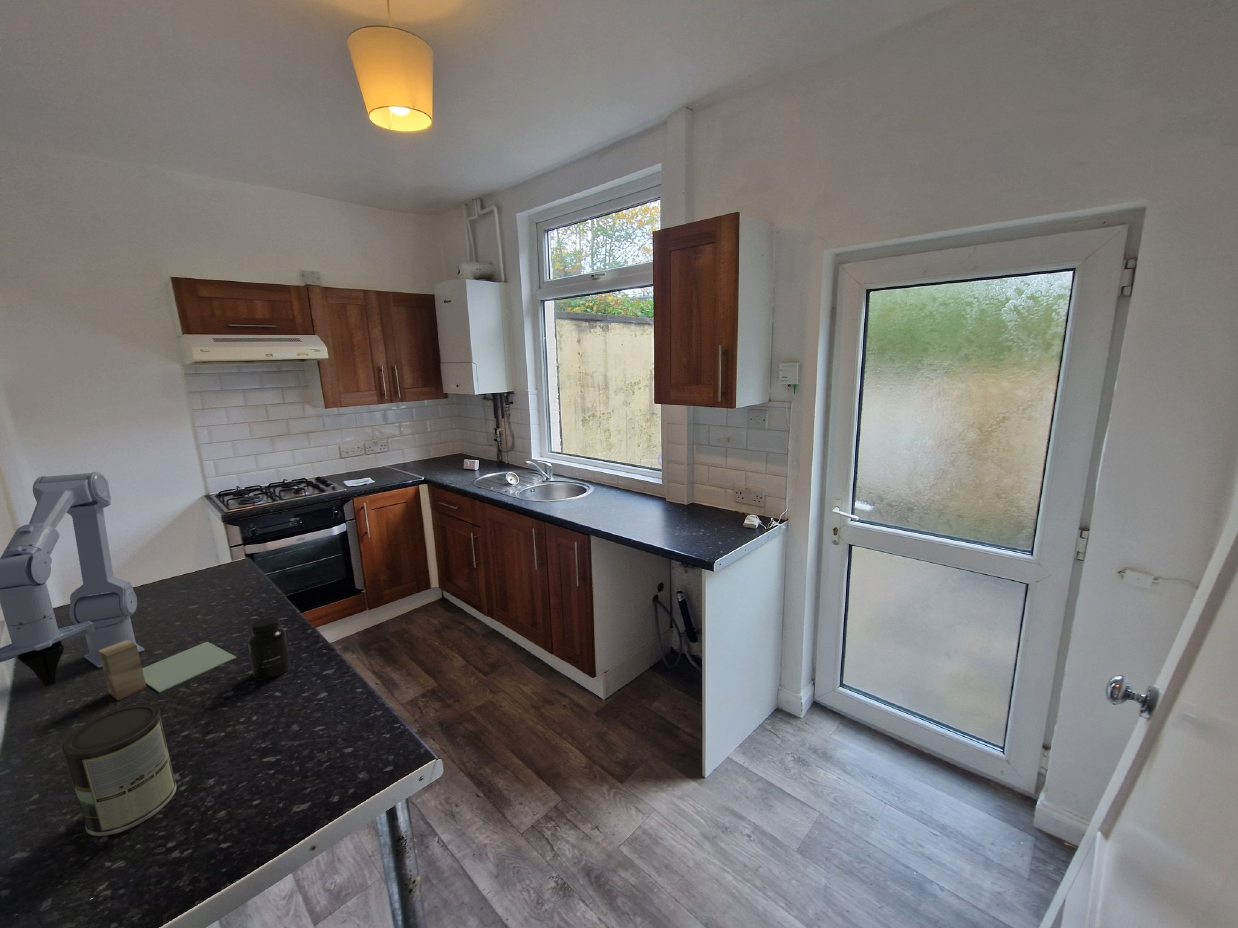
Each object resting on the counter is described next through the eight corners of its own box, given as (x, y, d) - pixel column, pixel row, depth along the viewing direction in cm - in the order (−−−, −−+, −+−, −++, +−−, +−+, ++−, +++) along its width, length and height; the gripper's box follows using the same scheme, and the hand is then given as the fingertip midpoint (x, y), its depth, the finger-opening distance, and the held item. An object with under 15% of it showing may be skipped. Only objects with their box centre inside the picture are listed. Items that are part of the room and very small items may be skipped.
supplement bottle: (272, 682, 106) (263, 631, 104) (245, 678, 107) (236, 628, 105) (298, 663, 113) (290, 615, 110) (273, 660, 114) (264, 612, 112)
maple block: (109, 693, 103) (98, 650, 101) (137, 681, 107) (127, 639, 105) (117, 700, 101) (107, 656, 99) (146, 687, 105) (136, 645, 103)
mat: (132, 673, 110) (131, 672, 110) (207, 642, 122) (207, 641, 122) (159, 692, 103) (159, 691, 103) (236, 657, 115) (236, 656, 115)
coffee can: (63, 840, 71) (38, 755, 68) (126, 781, 81) (107, 705, 78) (140, 833, 72) (119, 750, 69) (193, 775, 82) (177, 700, 79)
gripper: (-27, 642, 83) (-6, 713, 86) (93, 605, 95) (109, 668, 98) (-38, 632, 86) (-16, 701, 89) (80, 597, 99) (95, 659, 102)
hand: (48, 683), depth 94 cm, fingers closed
